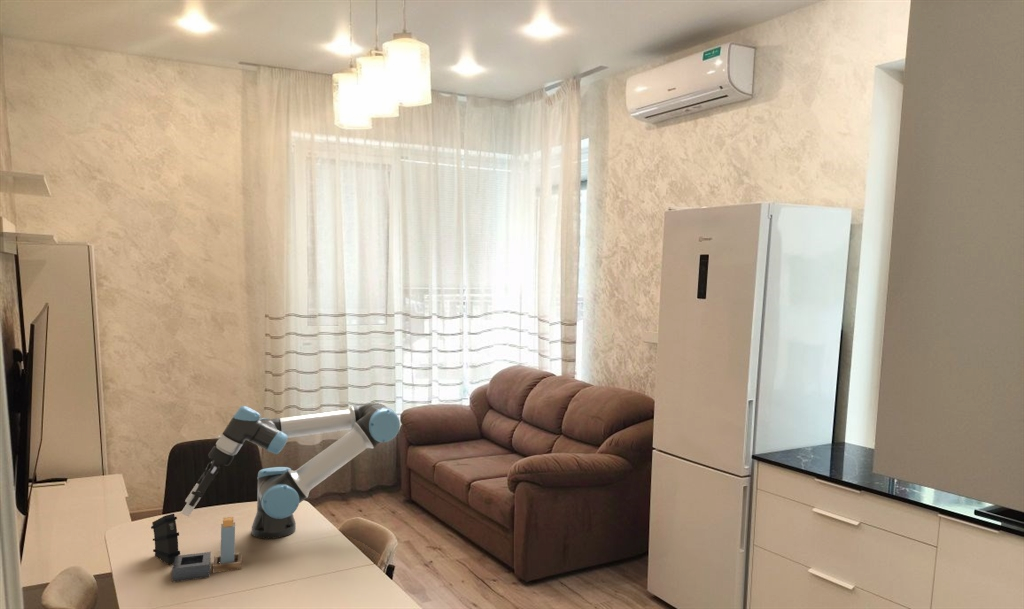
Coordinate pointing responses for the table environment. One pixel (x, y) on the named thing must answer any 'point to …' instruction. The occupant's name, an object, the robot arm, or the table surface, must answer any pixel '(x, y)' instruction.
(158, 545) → the magazine
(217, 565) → the brown square frame
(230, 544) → the plug
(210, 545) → the table surface
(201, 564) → the port
